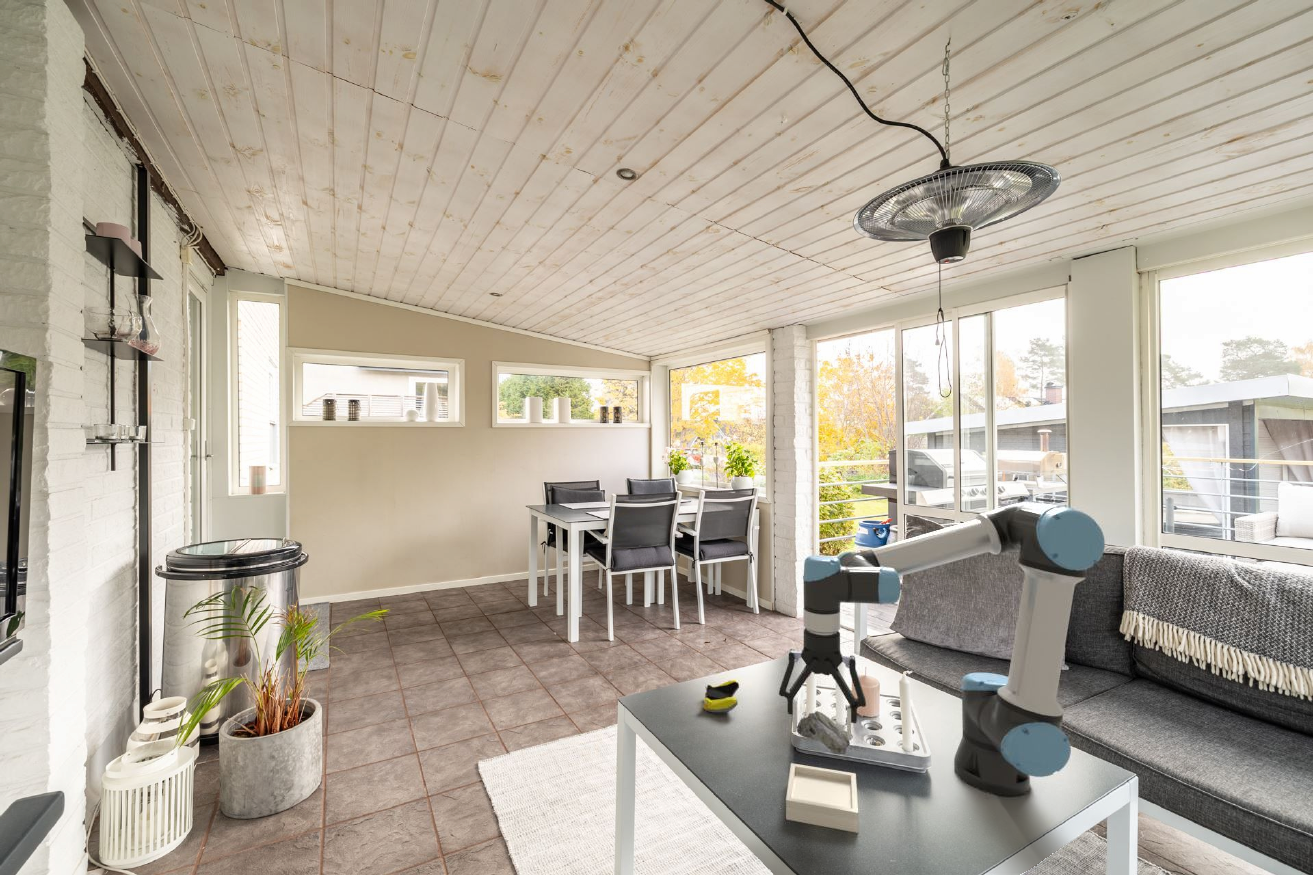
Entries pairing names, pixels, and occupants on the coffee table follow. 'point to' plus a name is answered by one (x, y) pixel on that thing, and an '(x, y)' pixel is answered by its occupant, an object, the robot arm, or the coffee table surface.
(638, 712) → the coffee table surface
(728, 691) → the yellow black shoe
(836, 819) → the small open wooden box
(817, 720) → the grey rock
